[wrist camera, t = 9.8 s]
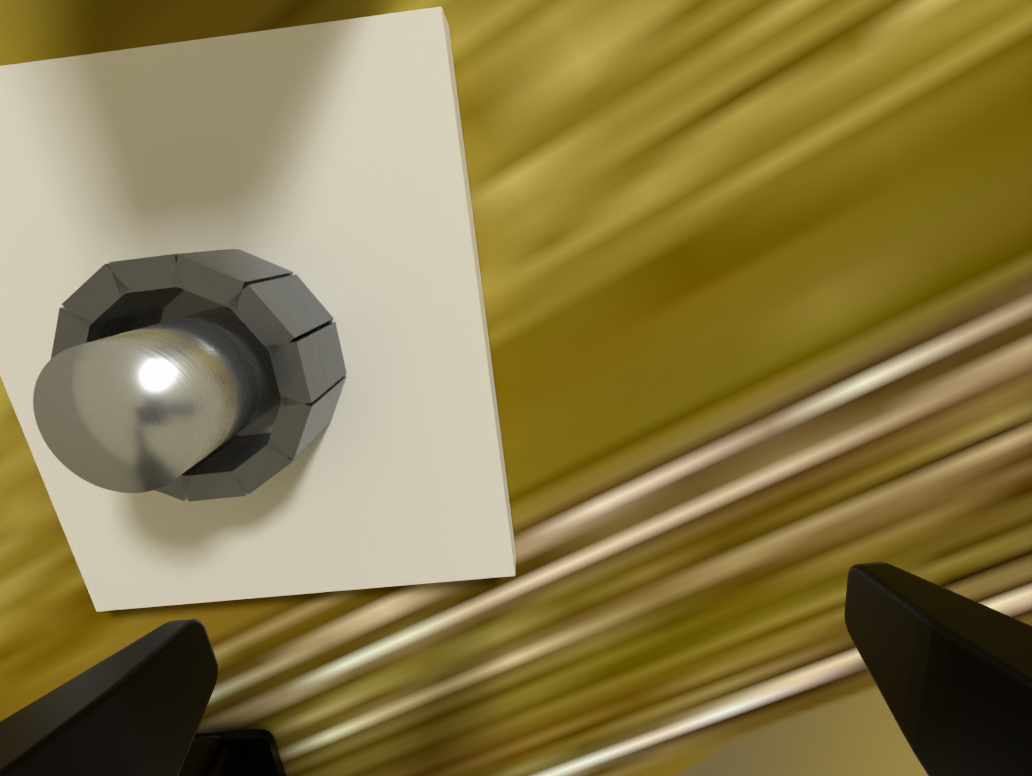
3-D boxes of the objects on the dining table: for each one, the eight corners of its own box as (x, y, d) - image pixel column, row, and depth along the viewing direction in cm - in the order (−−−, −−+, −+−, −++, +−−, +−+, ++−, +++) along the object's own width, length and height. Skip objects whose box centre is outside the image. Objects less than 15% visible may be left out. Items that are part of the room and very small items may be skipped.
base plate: (515, 551, 21) (515, 576, 20) (124, 586, 22) (96, 611, 20) (448, 26, 16) (440, 6, 14) (-64, 94, 16) (-120, 82, 15)
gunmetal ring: (362, 445, 18) (332, 487, 15) (169, 465, 18) (103, 510, 16) (317, 238, 16) (272, 241, 13) (101, 265, 16) (12, 273, 14)
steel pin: (305, 408, 18) (214, 485, 12) (201, 418, 18) (66, 499, 13) (279, 300, 17) (167, 334, 11) (169, 312, 17) (7, 352, 12)
